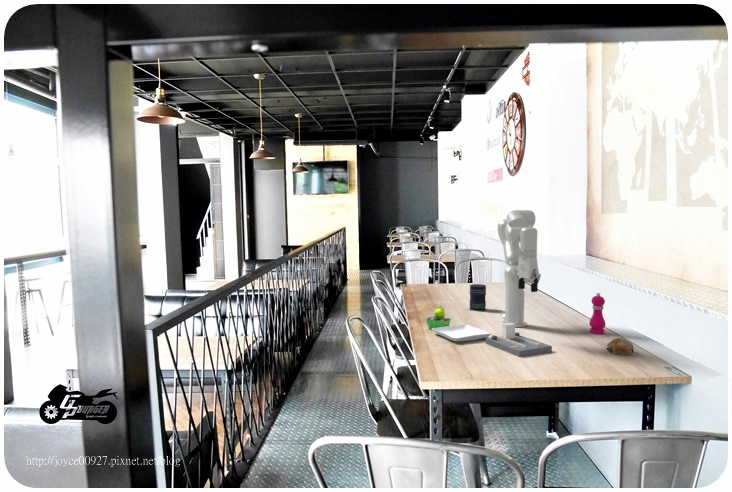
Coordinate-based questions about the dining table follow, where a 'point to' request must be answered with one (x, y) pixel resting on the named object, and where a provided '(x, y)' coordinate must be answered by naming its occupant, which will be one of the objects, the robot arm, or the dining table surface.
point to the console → (518, 345)
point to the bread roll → (620, 347)
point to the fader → (509, 330)
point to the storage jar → (477, 297)
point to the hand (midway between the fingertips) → (527, 290)
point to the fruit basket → (438, 319)
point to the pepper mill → (597, 315)
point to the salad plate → (461, 333)
